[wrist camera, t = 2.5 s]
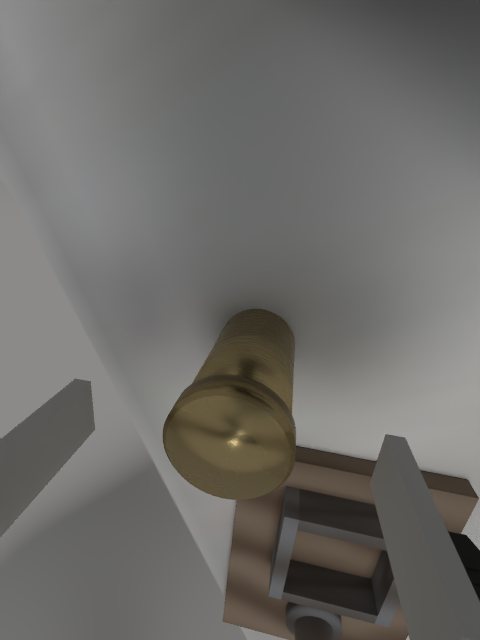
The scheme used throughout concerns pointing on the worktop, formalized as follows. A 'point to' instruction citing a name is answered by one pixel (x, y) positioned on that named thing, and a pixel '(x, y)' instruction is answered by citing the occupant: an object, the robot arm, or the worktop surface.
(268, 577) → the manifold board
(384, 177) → the worktop surface
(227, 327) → the gold tall rounded piece
